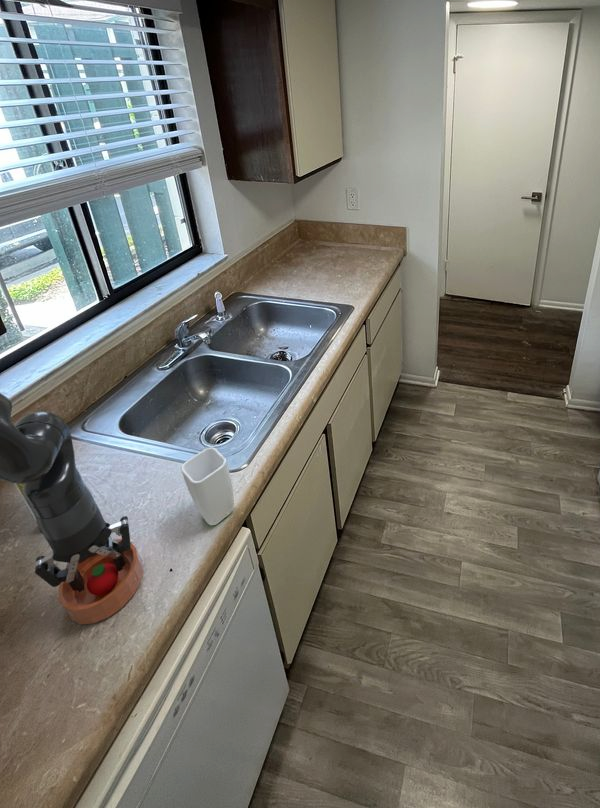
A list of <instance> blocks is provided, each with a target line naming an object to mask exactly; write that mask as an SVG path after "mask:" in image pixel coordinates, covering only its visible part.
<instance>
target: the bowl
mask: <svg viewBox="0 0 600 808" xmlns="http://www.w3.org/2000/svg"><path fill="white" fill-rule="evenodd" d="M112 540H114V541H116V542H118V543H119V542H120V541H121V540H122V538H115V539H113V538H112ZM130 544H131V548H130V549H129V550H127V551H123V554H124V556H125V565H124V566H123V569H122V570H121V571H119V572H118V579H117V582H116V584H115V585H114V586H113V588H112V589H111V590H109V591H108V592H106V593H105V594H102V595H94V594H91V593H90V592H89V590H88V588H87V580H88V578H89V576H90V574H91V573H92V571H93V569H94V568H95V567H96V566H98V565H101V564H107V563H109V564H113V565H114V566H115V564H114V562H113V558H111V557H109V556H107V557H104V556H101V555H99V554H98V555H96V556H93V557H90V558H88V559H87V560H85V561H84V562H82V563H80V564H79V563H78V566H77V568H78V570H79V572H80V574H81V576H82V577H83V579H84V590H83V591H81V592H79V591H78V590H76V591H74V590H72V588H71V586H70V585H69V583H67V582H61V583H60V585H59V586H58V595H57V597H58V598H57V599H58V600H59V602H60V604H61V607H63V609H64V610H65V612H66V614H67V616H68V617H69V619H70V620H71V622H74V623H77V624H80V625H91V624H97V623H98V622H101V621H103V620H105V619H108V618H109V617H111V616H112V615H114V614H115V613H117V612H118V611H119V610H121V609H122V608H123V607H124V606H125V605H126V604H127V603H128V602H129V601H130V600H131V599H132V598H133V597H134V595H135V593H136V592H137V590H138V588H139V587H140V585H141V583H142V579H143V576H144V572H145V571H144V562H143V560H142V558H141V555H140V554H139V551H138V549H137V547H136V546H135V545H134V544H133V542H132V541H130Z"/></svg>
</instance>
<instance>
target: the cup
mask: <svg viewBox="0 0 600 808" xmlns="http://www.w3.org/2000/svg"><path fill="white" fill-rule="evenodd" d="M229 469H230V468H229V466H228V462H227V459H226V457H225V456H224V455H222V454H221V452H220V451H219V450H217V448H215V447H212V446H211V447H207V448H205V449H203V450H201V451H200V452H198V453H196V454H195V455H194V456H192V457H191V458H189V459H187V460H186V461H185V462H184V463H182V465H181V467H180V471H181V473H182V477H183V479H184V482H185V486H186V488H187V490H188V492H189V494H190V497H191V499H192V502H193V503H194V505H195V507H196V509H197V510H198V512H199V514H200V516H201V517H202V518H203V519H204V521H205V522H206V523H207V524H208V525H209V526H216V525H218V524H219V523H220V522H221V521H222V520H224V519H225V518H226V517H228V516H229V515H230V514H232V513H233V512H234V510H235V497H234V488H233V487H234V486H233V482H232V477H231V473H230V470H229Z"/></svg>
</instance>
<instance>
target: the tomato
mask: <svg viewBox="0 0 600 808" xmlns="http://www.w3.org/2000/svg"><path fill="white" fill-rule="evenodd" d="M117 579H118V570H117V568H116V566H114V565H113V564H109V563H107V564H101V565H98V566H96V567H95V568H94V569H93V571H92V573H91V574H90V576H89V578H88V580H87V588H88V590H89V592H90V593H91V594H94V595H102V594H105V593H106V592H108V591H109V590H111V589H112V588H113V586H114V585H115V584H116V582H117Z"/></svg>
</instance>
